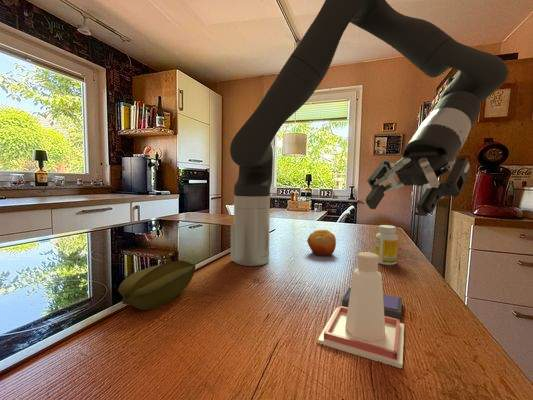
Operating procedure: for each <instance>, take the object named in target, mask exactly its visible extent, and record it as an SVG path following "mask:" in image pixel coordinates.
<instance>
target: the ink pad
mask: <svg viewBox="0 0 533 400" xmlns="http://www.w3.org/2000/svg"><path fill="white" fill-rule="evenodd" d="M350 291H351V287H349V288H348V289H347V290H346V292H345V293H344V296H343V297H342V299H341V306H343V307H347V308H348V305H349V298H350ZM383 303H384V316H387V317H391V318H395V319H400V321H401V320H402V306H403V305H402V303H403V297H400V296H395V295H390V294H384V293H383Z"/></svg>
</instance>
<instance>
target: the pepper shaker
mask: <svg viewBox="0 0 533 400" xmlns="http://www.w3.org/2000/svg"><path fill="white" fill-rule="evenodd" d="M356 257H357V268H355V269H354V271H353V273H352V279H351V285H350V288H351V291H350V298H349V305H348V312H347V318H346V325H345V329H346V330H347V331H348V332H349V333H350V334H351V335H352V336H353V337H354V338H357V339H361V340H364V341H367V342H373V341H379V340H383V338H384V334H385V319H384V303H383V294H384V291H383V276H382V273H381V272H380V271H378V270H379V269H378V267H379V263H378V260H379V256H378V255H377V254H375V252H370V251H361V252H359V253H357V256H356Z"/></svg>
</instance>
